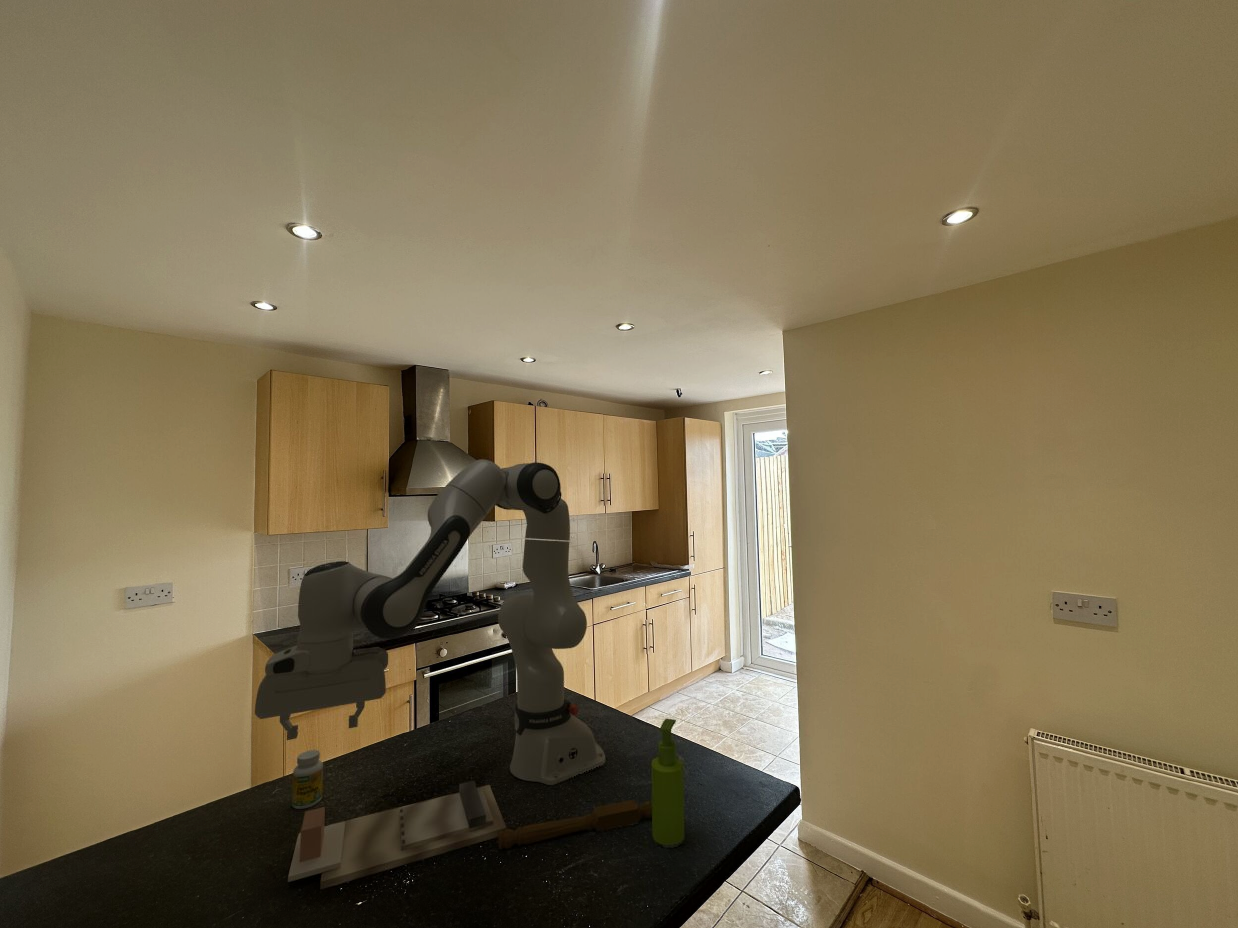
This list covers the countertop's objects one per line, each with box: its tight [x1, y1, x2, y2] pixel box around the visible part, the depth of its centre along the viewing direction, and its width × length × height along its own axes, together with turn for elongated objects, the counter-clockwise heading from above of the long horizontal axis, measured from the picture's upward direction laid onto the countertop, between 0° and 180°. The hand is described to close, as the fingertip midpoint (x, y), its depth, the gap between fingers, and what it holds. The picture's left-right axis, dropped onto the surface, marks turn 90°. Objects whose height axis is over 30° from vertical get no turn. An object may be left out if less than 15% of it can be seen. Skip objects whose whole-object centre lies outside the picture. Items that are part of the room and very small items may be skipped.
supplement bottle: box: [291, 749, 324, 810], centre depth 104 cm, size 5×5×10 cm
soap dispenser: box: [650, 718, 685, 845], centre depth 93 cm, size 6×7×20 cm
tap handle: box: [497, 799, 652, 851], centre depth 94 cm, size 3×3×30 cm
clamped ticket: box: [319, 780, 507, 890], centre depth 94 cm, size 30×16×4 cm, turn 116°
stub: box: [287, 806, 345, 883], centre depth 87 cm, size 7×12×6 cm, turn 26°
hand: (323, 732), depth 89 cm, fingers open, 8 cm apart
